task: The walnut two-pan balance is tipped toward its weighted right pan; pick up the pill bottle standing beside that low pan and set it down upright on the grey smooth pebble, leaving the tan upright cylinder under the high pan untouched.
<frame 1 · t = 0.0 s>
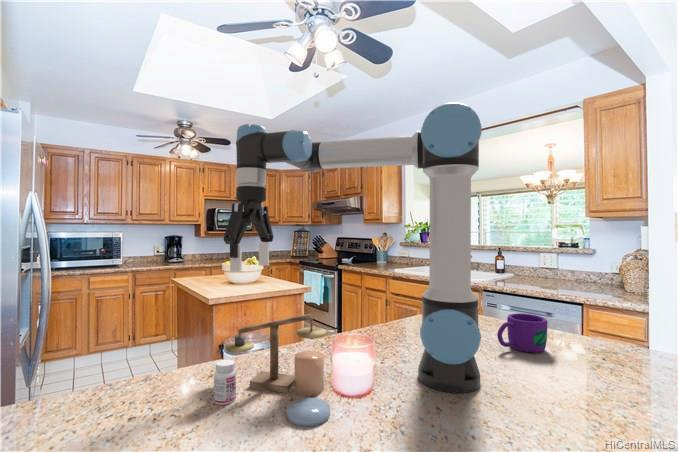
hand: (250, 268, 91), 28 cm above the countertop, fingers open, 13 cm apart
grey smooth pebble: (308, 414, 73), on the countertop
pill bottle: (225, 401, 78), on the countertop
balance: (274, 384, 86), on the countertop
mug: (519, 350, 112), on the countertop
tan upright cylinder: (309, 389, 84), on the countertop
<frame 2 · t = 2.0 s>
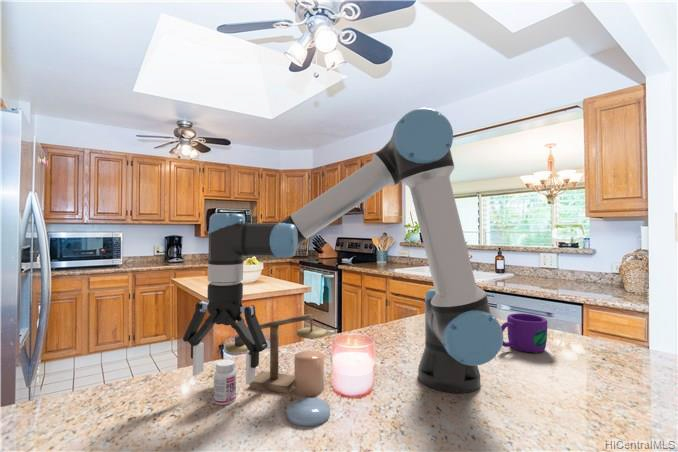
hand: (223, 377, 79), 5 cm above the countertop, fingers open, 13 cm apart
nothing on the countertop moved.
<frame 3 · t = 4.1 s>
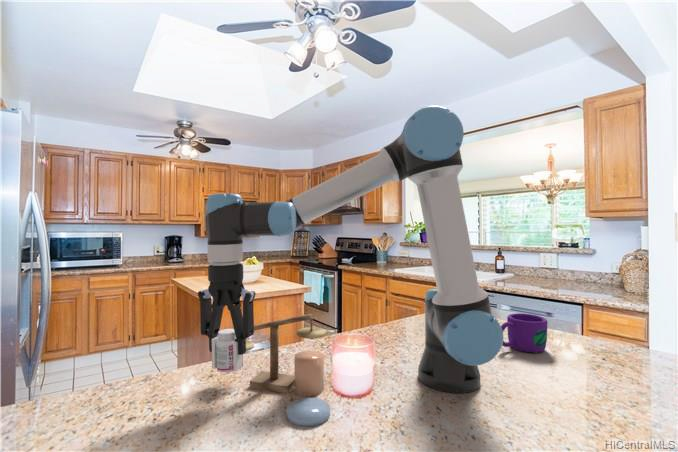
hand: (227, 367, 78), 7 cm above the countertop, fingers closed on pill bottle, 5 cm apart
pill bottle: (228, 369, 79), point 7 cm above the countertop, touching gripper
everything else where it was.
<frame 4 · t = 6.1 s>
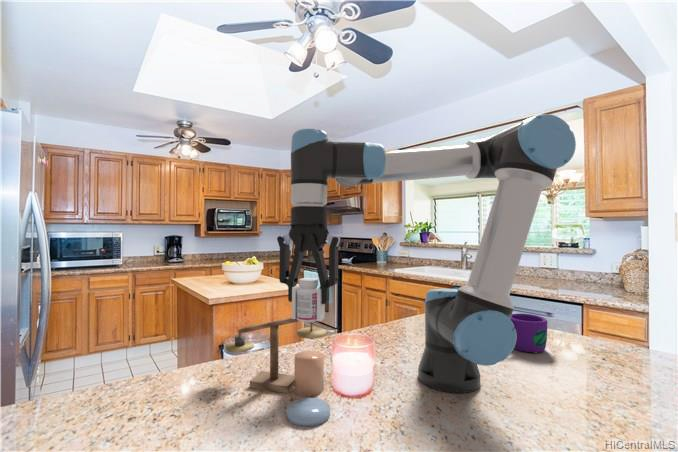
hand: (308, 318, 73), 20 cm above the countertop, fingers closed on pill bottle, 5 cm apart
pill bottle: (308, 320, 73), point 19 cm above the countertop, touching gripper
everything else where it was.
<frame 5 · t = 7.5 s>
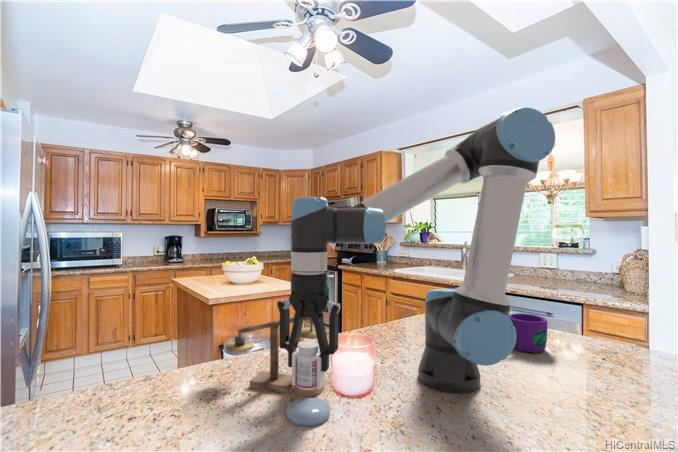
hand: (308, 384, 73), 6 cm above the countertop, fingers closed on pill bottle, 5 cm apart
pill bottle: (308, 386, 73), point 6 cm above the countertop, touching gripper
everything else where it was.
when the fingers open (2 cm above the countertop, at t = 8.4 s): pill bottle stays where it is, resting on grey smooth pebble.
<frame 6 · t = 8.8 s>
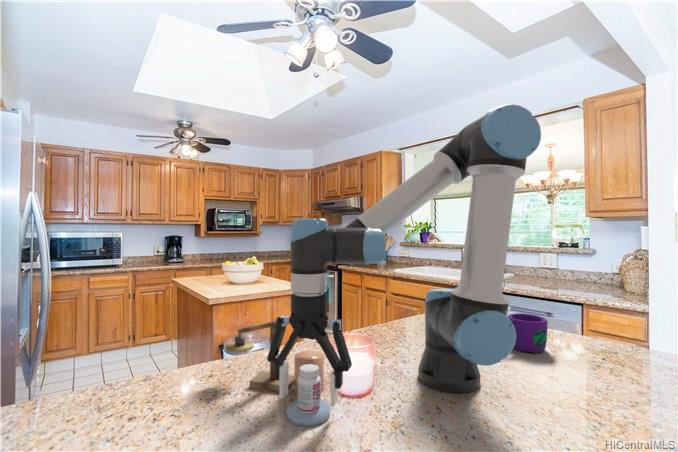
hand: (308, 399, 73), 3 cm above the countertop, fingers open, 10 cm apart
pill bottle: (309, 409, 73), point 1 cm above the countertop, touching grey smooth pebble
everything else where it was.
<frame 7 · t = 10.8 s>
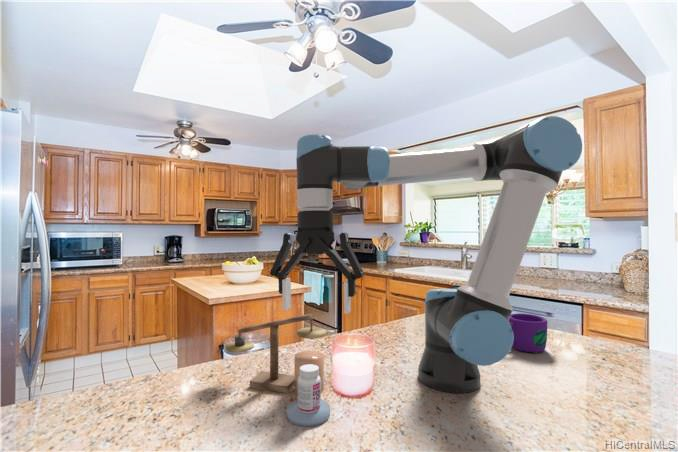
hand: (316, 310, 74), 21 cm above the countertop, fingers open, 13 cm apart
nothing on the countertop moved.
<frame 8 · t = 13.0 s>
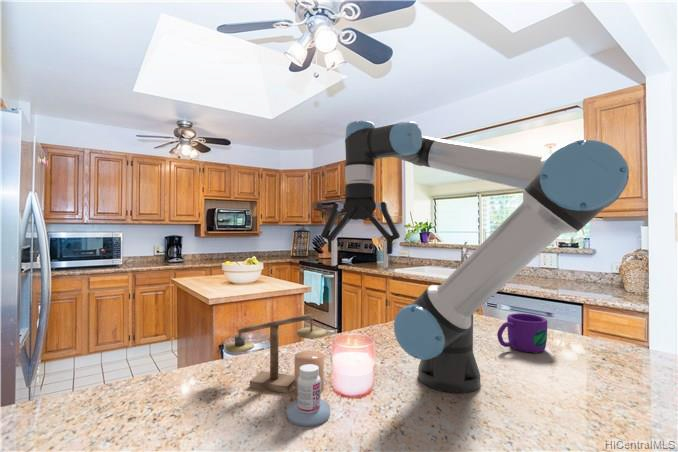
hand: (359, 266, 90), 29 cm above the countertop, fingers open, 13 cm apart
nothing on the countertop moved.
at the end: pill bottle 0.1 cm from the grey smooth pebble (horizontally); pill bottle tilted 0°; the gripper is holding nothing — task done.
